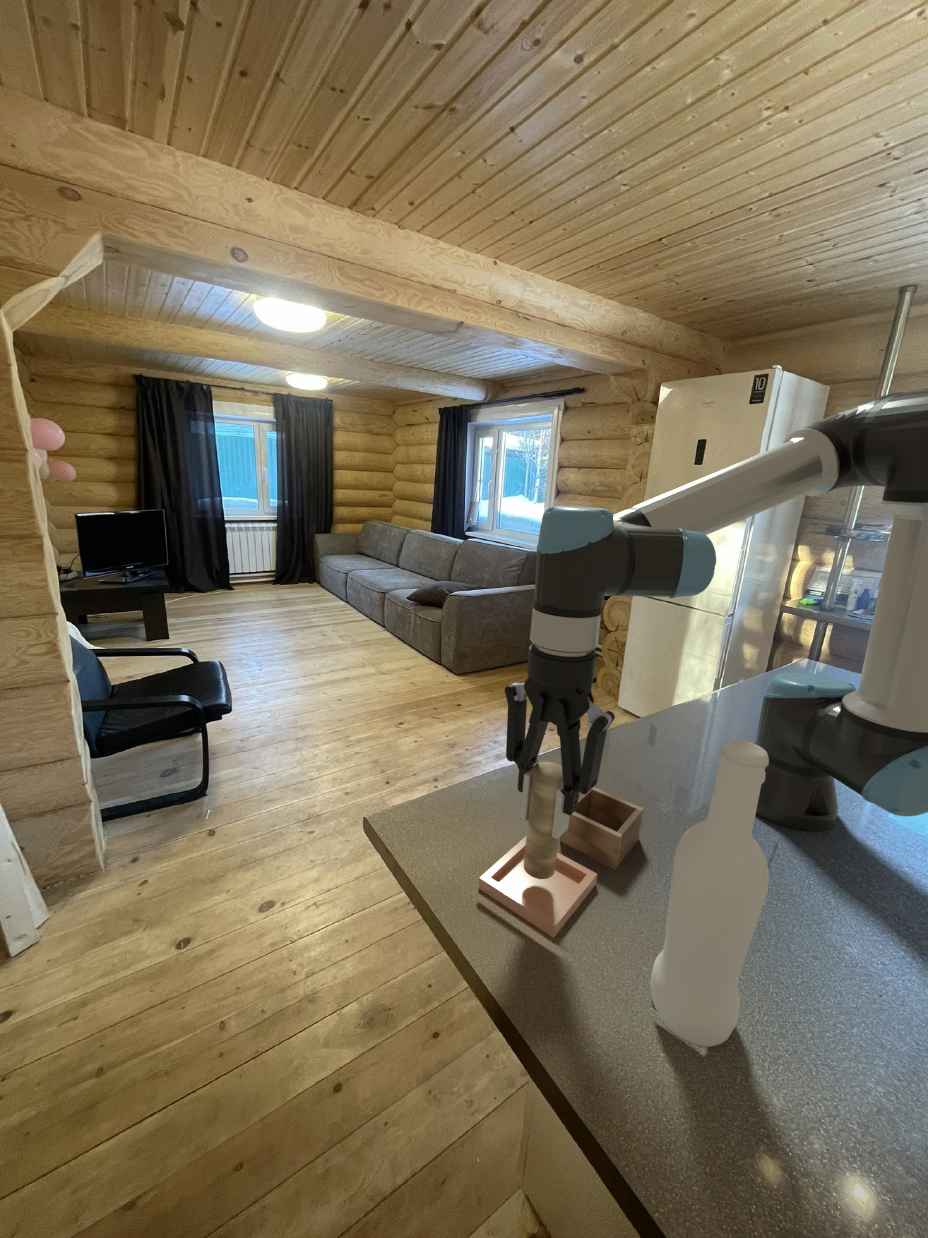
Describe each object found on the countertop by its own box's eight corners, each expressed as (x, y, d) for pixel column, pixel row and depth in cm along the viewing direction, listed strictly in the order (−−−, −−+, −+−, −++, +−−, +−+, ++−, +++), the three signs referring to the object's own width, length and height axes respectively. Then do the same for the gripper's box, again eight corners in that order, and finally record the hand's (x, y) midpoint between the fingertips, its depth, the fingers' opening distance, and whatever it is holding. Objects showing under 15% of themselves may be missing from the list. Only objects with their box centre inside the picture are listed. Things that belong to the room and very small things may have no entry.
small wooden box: (638, 843, 77) (643, 808, 75) (614, 874, 70) (619, 837, 69) (585, 818, 82) (589, 785, 80) (559, 845, 75) (563, 810, 74)
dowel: (560, 867, 66) (572, 770, 62) (544, 884, 63) (555, 783, 60) (534, 852, 69) (544, 758, 65) (517, 868, 66) (527, 770, 62)
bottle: (635, 975, 56) (678, 724, 48) (706, 972, 57) (759, 725, 49) (670, 1055, 48) (728, 772, 40) (751, 1050, 49) (824, 771, 41)
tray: (595, 889, 68) (597, 874, 67) (553, 943, 59) (555, 926, 59) (525, 849, 74) (526, 835, 74) (478, 893, 66) (479, 877, 65)
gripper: (649, 657, 56) (620, 841, 62) (518, 624, 66) (505, 784, 72) (621, 674, 50) (592, 874, 56) (483, 635, 60) (472, 808, 66)
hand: (543, 823), depth 64 cm, fingers closed on dowel, 4 cm apart
